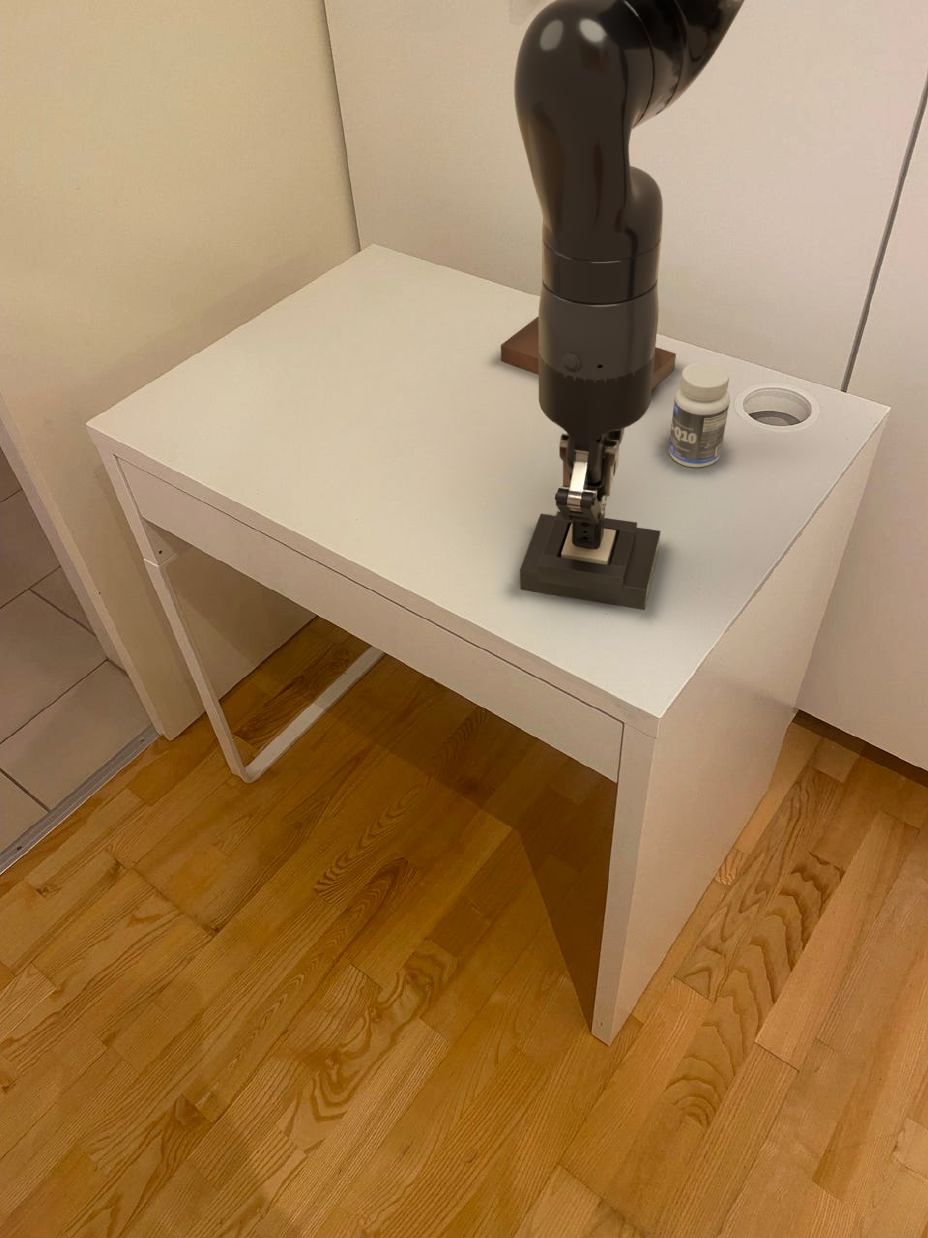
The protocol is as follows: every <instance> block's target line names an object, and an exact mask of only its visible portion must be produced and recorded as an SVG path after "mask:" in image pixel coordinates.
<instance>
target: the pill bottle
mask: <svg viewBox="0 0 928 1238" xmlns="http://www.w3.org/2000/svg"><path fill="white" fill-rule="evenodd" d="M729 382H730V373H729V371H728V369H726V368H725V367H724V366H723V365H721V364H718V363H716V362H713V361H712V362H711V361H696V362H691V363H689V364H688V365H687V366H685V367H684V368H683V369H682V372H681V377H680V382H679V385H680V386H679V387H678V388H677V390H676V391H675V395H674V399H673V400H674V401H673V410H672V416H671V417H672V418H671V424H670V426H671V427H670V433H669V441H668V442H669V443H668V454H669V455H670V457H671V458H672V459H673V460H674V462H676V463H678V464H680V465H682V466H684V467H689V468H703V467H707V466H710V465H712V464H714V463H716V462H717V461H718V460H719V458H720V456H721V454H722V449H723V443H724V438H725V431H726V425H727V418H728V414H729V408H730V402H731V397H730V393H729V391H728V389H729Z"/></svg>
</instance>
